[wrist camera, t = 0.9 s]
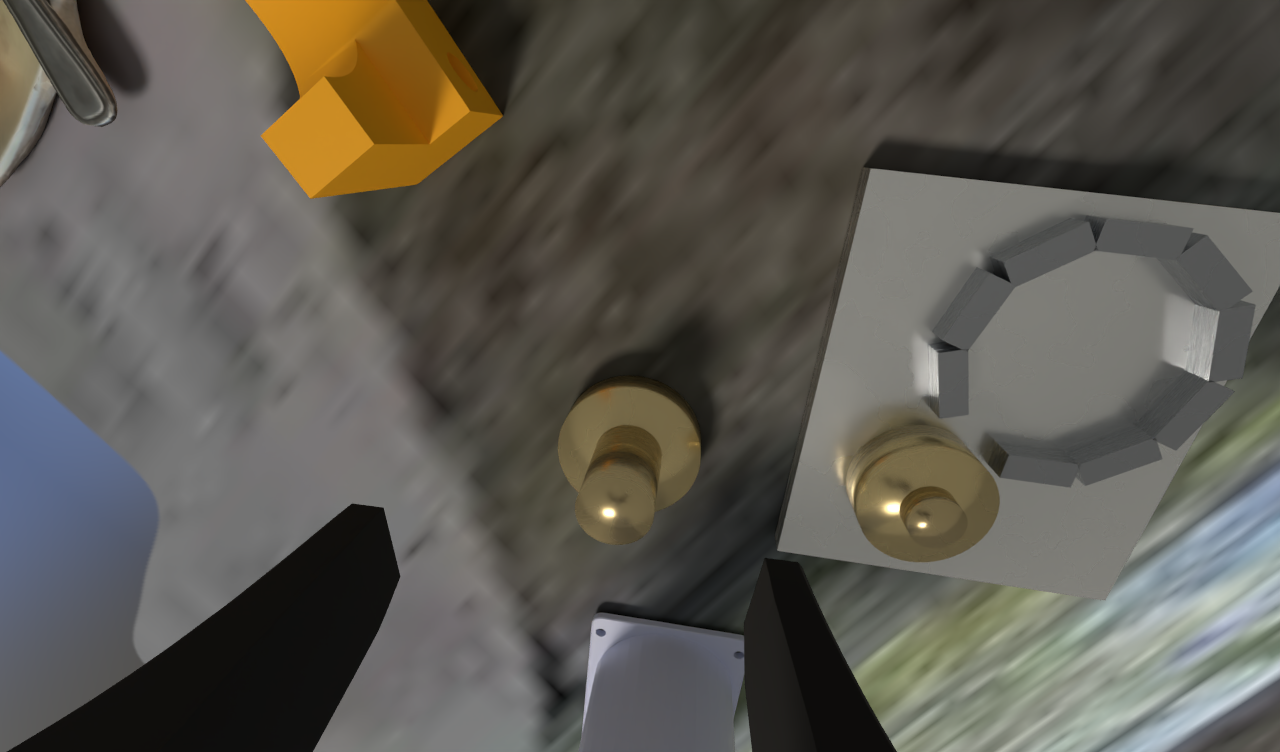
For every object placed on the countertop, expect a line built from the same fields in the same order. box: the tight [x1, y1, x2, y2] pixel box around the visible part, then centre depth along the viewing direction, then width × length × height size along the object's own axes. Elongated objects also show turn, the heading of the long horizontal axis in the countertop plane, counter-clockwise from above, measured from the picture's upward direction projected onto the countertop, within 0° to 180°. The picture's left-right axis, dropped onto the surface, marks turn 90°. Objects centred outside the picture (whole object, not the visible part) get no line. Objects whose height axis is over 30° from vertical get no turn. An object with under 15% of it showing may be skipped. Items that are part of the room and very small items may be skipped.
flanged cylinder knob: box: [558, 376, 701, 545], centre depth 22 cm, size 6×6×6 cm
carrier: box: [775, 167, 1280, 600], centre depth 20 cm, size 16×14×4 cm
